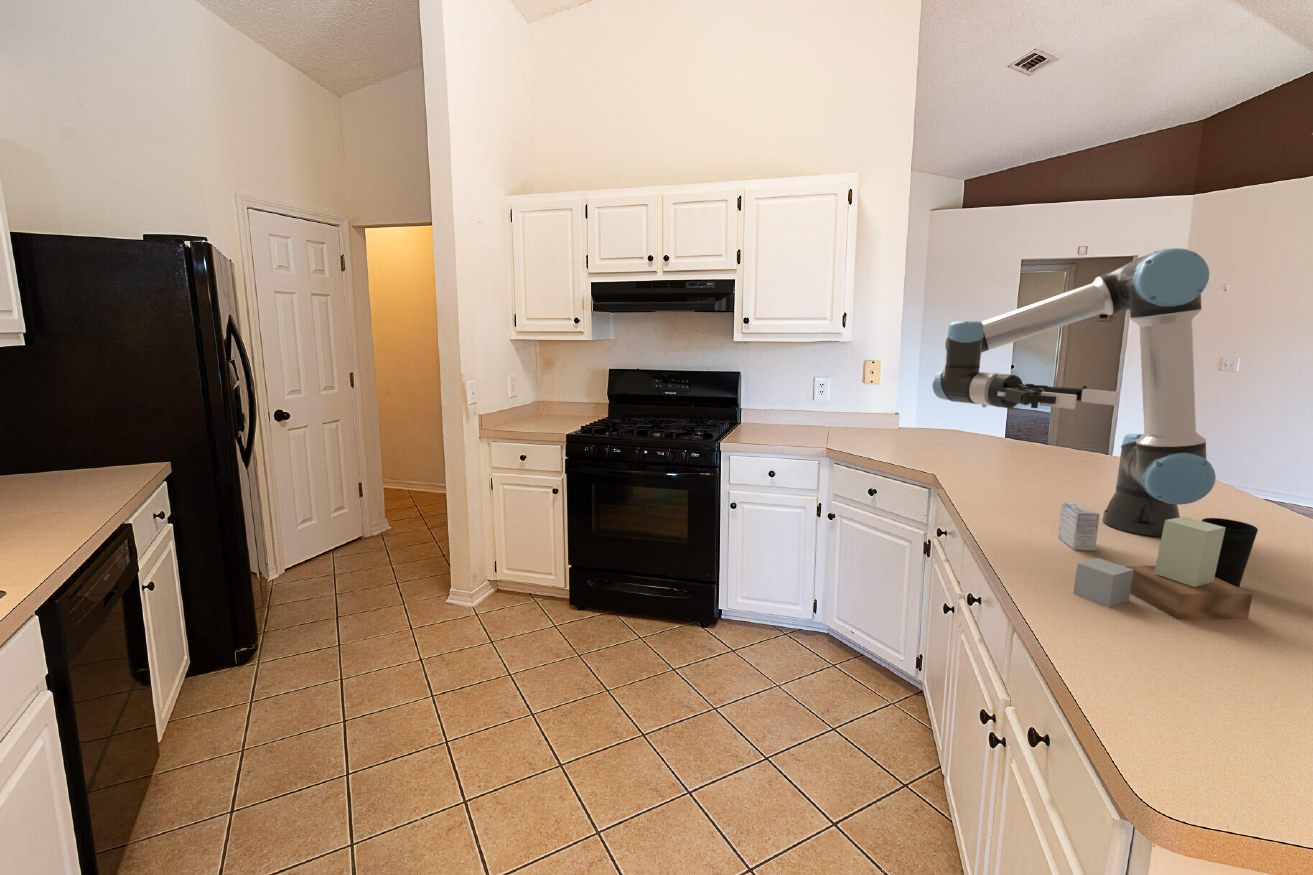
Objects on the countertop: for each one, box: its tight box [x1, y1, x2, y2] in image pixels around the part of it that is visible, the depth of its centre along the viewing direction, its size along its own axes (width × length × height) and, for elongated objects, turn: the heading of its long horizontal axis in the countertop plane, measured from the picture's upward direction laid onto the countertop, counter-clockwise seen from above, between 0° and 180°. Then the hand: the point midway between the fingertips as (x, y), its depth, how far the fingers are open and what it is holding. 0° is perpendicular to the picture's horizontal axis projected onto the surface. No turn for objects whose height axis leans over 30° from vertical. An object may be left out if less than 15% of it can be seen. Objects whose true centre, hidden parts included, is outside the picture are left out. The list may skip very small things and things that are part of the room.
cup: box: [1201, 517, 1259, 588], centre depth 114 cm, size 8×8×12 cm
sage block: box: [1154, 516, 1226, 587], centre depth 105 cm, size 6×6×10 cm
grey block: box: [1073, 557, 1134, 608], centre depth 109 cm, size 6×6×6 cm
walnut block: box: [1124, 565, 1253, 620], centre depth 106 cm, size 12×12×5 cm
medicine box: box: [1057, 502, 1100, 552], centre depth 135 cm, size 8×4×9 cm, turn 168°
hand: (1096, 400), depth 119 cm, fingers open, 13 cm apart
